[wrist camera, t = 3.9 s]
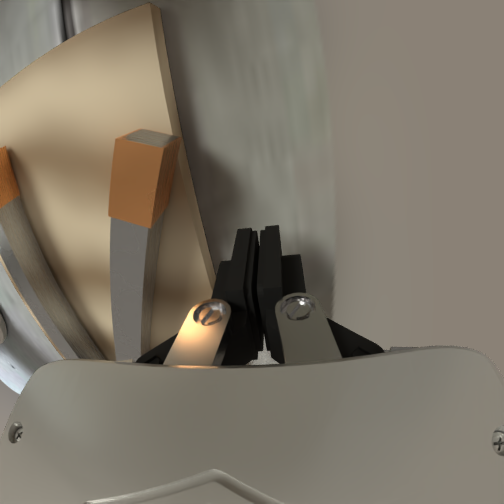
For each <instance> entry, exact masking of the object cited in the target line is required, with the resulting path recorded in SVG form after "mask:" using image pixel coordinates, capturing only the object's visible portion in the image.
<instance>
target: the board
mask: <svg viewBox="0 0 504 504" xmlns="http://www.w3.org/2000/svg"><path fill="white" fill-rule="evenodd" d="M140 128H141V129H146V130H151V131H156V132H161V133H165V134H170V135H174V136H179V137H182V140H181V144H180V149H179V153H178V158H177V162H176V167H175V172H174V177H173V182H172V187H171V193H170V198H169V204H168V206H167V208H166V209H165V212H164V218H163V224H162V231H161V238H160V245H159V253H158V260H157V269H156V278H155V287H154V297H153V309H152V321H151V336H150V350H151V349H153V348H155V347H156V346H158V345H159V344H161V343H163V342H164V341H166V340H167V339H169V338H171V337H172V336H174V335H175V334H177V333H178V332H179V331H180V329H181V327H182V326H183V324H184V322H185V320H186V318H187V316H188V314H189V312H190V310H191V309H192V308H193V307H194V306H195V305H196V304H198V303H200V302H202V301H204V300H208V299H211V297H212V293H213V289H214V285H215V281H216V275H215V272H214V268H213V264H212V260H211V256H210V252H209V249H208V245H207V241H206V237H205V233H204V228H203V224H202V220H201V216H200V212H199V208H198V204H197V199H196V195H195V191H194V186H193V182H192V178H191V173H190V169H189V164H188V159H187V155H186V150H185V145H184V141H183V136H182V131H181V126H180V121H179V116H178V111H177V106H176V101H175V96H174V90H173V85H172V79H171V74H170V68H169V62H168V56H167V50H166V44H165V38H164V32H163V25H162V18H161V11H160V8H158V7H157V6H155V5H153V4H152V3H150V2H149V3H146V4H144V5H141V6H138V7H136V8H133V9H130V10H128V11H126V12H123V13H121V14H118V15H116V16H114V17H112V18H109V19H107V20H105V21H103V22H101V23H99V24H97V25H95V26H93V27H91V28H89V29H87V30H85V31H83V32H81V33H79V34H77V35H76V36H74V37H72V38H70V39H68V40H67V41H65V42H63V43H62V44H60V45H58V46H57V47H55V48H53V49H52V50H50V51H49V52H47V53H46V54H44V55H43V56H41V57H40V58H38V59H37V60H35V61H34V62H32V63H31V64H30V65H28V66H27V67H25V68H24V69H23V70H21V71H20V72H19V73H17V74H16V75H15V76H14V77H12V78H11V79H10V80H9V81H7V82H6V83H5V84H4V85H3V86H1V87H0V148H1V147H4V146H6V149H7V153H8V156H9V160H10V164H11V167H12V171H13V174H14V177H15V180H16V183H17V186H18V189H19V192H20V195H19V197H20V200H21V203H22V206H23V208H24V211H25V214H26V216H27V219H28V221H29V224H30V226H31V228H32V231H33V233H34V236H35V238H36V240H37V242H38V245H39V247H40V249H41V251H42V253H43V255H44V257H45V259H46V262H47V264H48V266H49V268H50V270H51V272H52V273H53V275H54V277H55V279H56V281H57V283H58V285H59V287H60V288H61V290H62V292H63V294H64V296H65V297H66V299H67V301H68V303H69V304H70V306H71V308H72V309H73V311H74V313H75V314H76V316H77V317H78V319H79V321H80V322H81V324H82V325H83V327H84V328H85V330H86V332H87V333H88V335H89V336H90V338H91V339H92V341H93V342H94V343H95V345H96V346H97V348H98V349H99V351H100V352H101V353H102V355H103V356H104V358H105V359H106V360H107V361H116V354H115V345H114V335H113V324H112V310H111V292H110V224H111V217H109V216H108V207H109V192H110V180H111V170H112V161H113V152H114V145H115V138H117V137H120V136H122V135H125V134H127V133H130V132H132V131H135V130H137V129H140ZM0 261H1V263H2V265H3V267H4V268H5V270H6V272H7V274H8V276H9V278H10V280H11V282H12V283H13V285H14V287H15V289H16V290H17V292H18V294H19V295H20V297H21V299H22V300H23V302H24V304H25V305H26V307H27V308H28V310H29V312H30V313H31V315H32V316H33V318H34V319H35V321H36V322H37V324H38V325H39V327H40V328H41V330H42V331H43V332H44V334H45V335H46V337H47V338H48V339H49V341H50V342H51V343H52V345H53V346H54V347H55V349H56V350H57V351H58V353H59V354H60V355H61V356H62V358H63V359H64V360H65V359H66V358H65V357H64V356H63V354H62V353H61V352H60V351H59V349H58V348H57V347H56V345H55V344H54V343H53V341H52V340H51V338H50V337H49V336H48V334H47V333H46V331H45V330H44V329H43V327H42V326H41V324H40V323H39V321H38V320H37V318H36V317H35V315H34V314H33V312H32V311H31V309H30V307H29V306H28V304H27V303H26V301H25V299H24V298H23V296H22V294H21V293H20V291H19V289H18V287H17V286H16V284H15V282H14V280H13V278H12V277H11V275H10V273H9V271H8V269H7V267H6V265H5V263H4V261H3V259H2V257H1V255H0Z"/></svg>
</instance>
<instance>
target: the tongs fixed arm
mask: <svg viewBox="0 0 504 504" xmlns="http://www.w3.org/2000/svg"><path fill="white" fill-rule="evenodd" d="M19 195H20V192H19V189H18V186H17V183H16V180H15V177H14V174H13V171H12V167H11V164H10V160H9V156H8V153H7V149H6V146H4V147H1V148H0V255H1V257H2V259H3V261H4V263H5V265H6V267H7V269H8V271H9V273H10V275H11V277H12V278H13V280H14V282H15V284H16V286H17V287H18V289H19V291H20V293H21V294H22V296H23V298H24V299H25V301H26V303H27V304H28V306H29V307H30V309H31V311H32V312H33V314H34V315H35V317H36V318H37V320H38V321H39V323H40V324H41V326H42V327H43V329H44V330H45V331H46V333H47V334H48V336H49V337H50V338H51V340H52V341H53V343H54V344H55V345H56V347H57V348H58V349H59V351H60V352H61V353H62V354H63V356H64V357H65V358H66V359H93V360H106V359H105V358H104V356H103V355H102V353H101V352H100V351H99V349H98V348H97V346H96V345H95V343H94V342H93V341H92V339H91V338H90V336H89V335H88V333H87V332H86V330H85V328H84V327H83V325H82V324H81V322H80V321H79V319H78V317H77V316H76V314H75V313H74V311H73V309H72V308H71V306H70V304H69V303H68V301H67V299H66V297H65V296H64V294H63V292H62V290H61V288H60V287H59V285H58V283H57V281H56V279H55V277H54V275H53V273H52V272H51V270H50V268H49V266H48V264H47V262H46V259H45V257H44V255H43V253H42V251H41V249H40V247H39V245H38V242H37V240H36V238H35V236H34V233H33V231H32V228H31V226H30V224H29V221H28V219H27V216H26V214H25V211H24V208H23V206H22V203H21V200H20V197H19ZM106 361H107V360H106Z"/></svg>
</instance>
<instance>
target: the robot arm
mask: <svg viewBox="0 0 504 504" xmlns="http://www.w3.org/2000/svg"><path fill="white" fill-rule="evenodd" d="M6 336H7V329H6V325H5V322H4V320H3V317H2V315H1V313H0V344H2V343H3V341H4V340H5V338H6ZM264 336H265V342H266V347H267V351H270V352H271V358H273V359H274V360H275V361H277V362H278V363H280V364H269V365H246V364H247V363H248V362H250V361H251V360H258V351H263V341H264ZM0 504H504V377H503V375H502V374H501V372H500V371H499V369H498V368H497V366H496V365H495V363H494V362H493V361H492V360H491V359H490V358H489V357H488V356H486V355H485V354H483V353H482V352H480V351H477V350H474V349H470V348H467V347H458V346H429V347H391V348H390V350H383V349H382V348H381V347H380V346H379V345H377V344H376V343H374V342H372V341H370V340H368V339H366V338H364V337H362V336H360V335H358V334H356V333H355V332H353V331H351V330H349V329H347V328H345V327H343V326H341V325H339V324H338V323H336V322H334V321H332V320H330V319H328V318H326V316H325V314H324V311H323V309H322V306H321V304H320V302H319V301H318V299H317V298H315V297H314V296H312V295H310V294H307V293H306V290H305V283H304V276H303V269H302V262H301V256H300V254H298V255H287V256H282V251H281V241H280V232H279V225H275V226H265V230H261V231H260V246H259V241H258V234H257V231H252V229H251V228H245V229H238V231H237V235H236V240H235V245H234V249H233V254H232V259H231V260H230V261H221V263H220V266H219V269H218V273H217V277H216V281H215V285H214V289H213V293H212V297H211V299H208V300H204V301H202V302H200V303H198V304H196V305H195V306H194V307H193V308H192V309H191V310H190V312H189V314H188V316H187V318H186V320H185V322H184V324H183V326H182V327H181V329H180V331H179V332H178V333H177V334H175V335H174V336H172V337H171V338H169V339H167V340H166V341H164V342H163V343H161V344H159V345H158V346H156V347H155V348H153V349H151V350H150V351H148V352H147V353H145V354H143V355H142V356H141V357H139V358H138V359H137V361H136V362H134V361H133V359H129V360H121V361H106V360H93V359H65V360H59V361H55V362H51V363H48V364H45V365H43V366H41V367H40V368H38V369H37V370H36V371H35V372H34V373H33V375H32V376H31V378H30V379H29V381H28V382H27V384H26V385H25V387H24V389H23V390H22V392H21V394H20V396H19V398H18V400H17V402H16V404H15V406H14V408H13V410H12V413H11V414H10V417H9V419H8V422H7V424H6V426H5V429H4V432H3V434H2V437H1V439H0Z"/></svg>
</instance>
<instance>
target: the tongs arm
mask: <svg viewBox="0 0 504 504" xmlns="http://www.w3.org/2000/svg"><path fill="white" fill-rule="evenodd" d="M181 140H182V137H179V136H174V135H170V134H165V133H161V132H156V131H151V130H146V129H141V128H140V129H137V130H135V131H132V132H130V133H127V134H125V135H122V136H120V137H117V138H115V145H114V152H113V161H112V170H111V180H110V192H109V207H108V216H109V217H111V224H110V292H111V310H112V324H113V335H114V345H115V354H116V361H121V360H129V359H133V361H134V362H136V361H137V359H138V358H139V357H141V356H142V355H143V354H145V353H147V352H148V351H150V336H151V321H152V309H153V297H154V287H155V278H156V269H157V260H158V253H159V245H160V238H161V231H162V224H163V218H164V212H165V209H166V208H167V206H168V204H169V198H170V193H171V187H172V182H173V177H174V172H175V167H176V162H177V158H178V153H179V149H180V144H181Z"/></svg>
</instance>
